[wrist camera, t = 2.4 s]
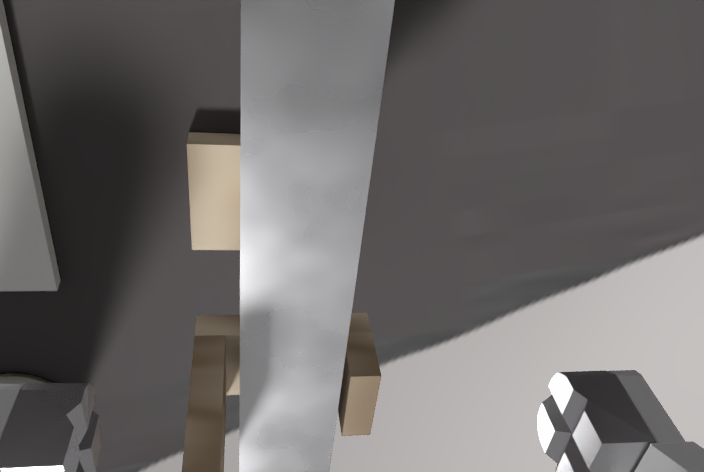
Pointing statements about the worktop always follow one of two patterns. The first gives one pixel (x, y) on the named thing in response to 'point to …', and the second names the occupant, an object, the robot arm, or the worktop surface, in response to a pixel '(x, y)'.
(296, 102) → the steel bar
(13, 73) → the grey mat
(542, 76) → the worktop surface
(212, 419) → the hook post
